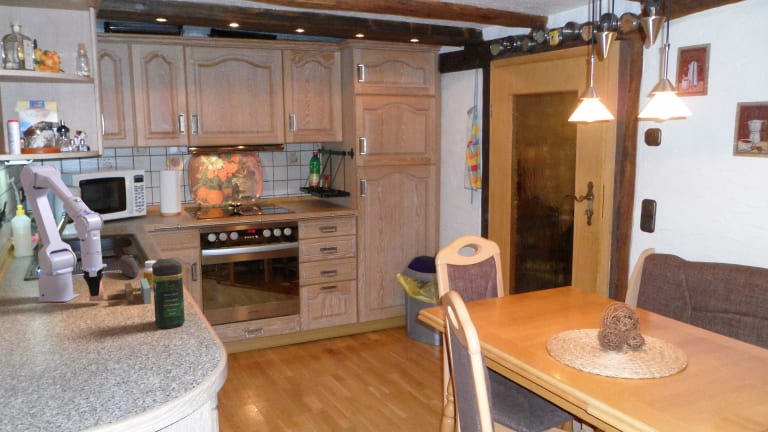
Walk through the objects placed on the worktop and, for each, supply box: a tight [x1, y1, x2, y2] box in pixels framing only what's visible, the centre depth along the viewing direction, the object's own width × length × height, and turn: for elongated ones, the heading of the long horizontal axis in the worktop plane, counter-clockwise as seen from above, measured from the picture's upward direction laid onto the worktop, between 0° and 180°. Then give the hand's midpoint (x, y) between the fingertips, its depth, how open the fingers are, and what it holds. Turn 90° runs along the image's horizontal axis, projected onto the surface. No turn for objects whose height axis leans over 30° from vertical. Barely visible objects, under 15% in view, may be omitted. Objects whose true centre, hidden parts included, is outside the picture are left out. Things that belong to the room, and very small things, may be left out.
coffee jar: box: [152, 258, 186, 329], centre depth 173 cm, size 10×8×19 cm
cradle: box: [106, 282, 135, 308], centre depth 196 cm, size 8×10×4 cm
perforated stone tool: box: [118, 254, 139, 279], centre depth 230 cm, size 15×5×7 cm, turn 35°
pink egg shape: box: [88, 279, 104, 302], centre depth 193 cm, size 4×4×6 cm
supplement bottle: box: [142, 260, 157, 292], centre depth 211 cm, size 5×5×10 cm
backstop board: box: [139, 278, 152, 305], centre depth 200 cm, size 2×14×5 cm, turn 26°
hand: (94, 294), depth 193 cm, fingers closed on pink egg shape, 4 cm apart
